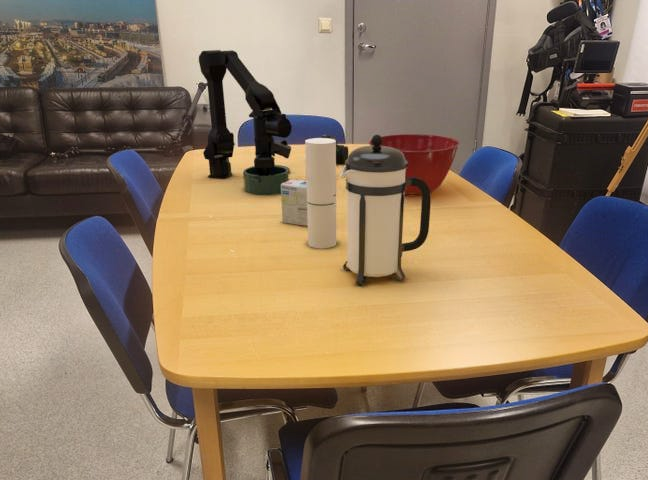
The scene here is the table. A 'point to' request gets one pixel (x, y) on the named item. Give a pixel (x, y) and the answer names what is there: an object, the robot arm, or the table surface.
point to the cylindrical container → (321, 192)
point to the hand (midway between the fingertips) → (266, 183)
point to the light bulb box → (294, 202)
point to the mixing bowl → (424, 157)
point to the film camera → (339, 151)
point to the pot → (265, 180)
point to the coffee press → (379, 210)
